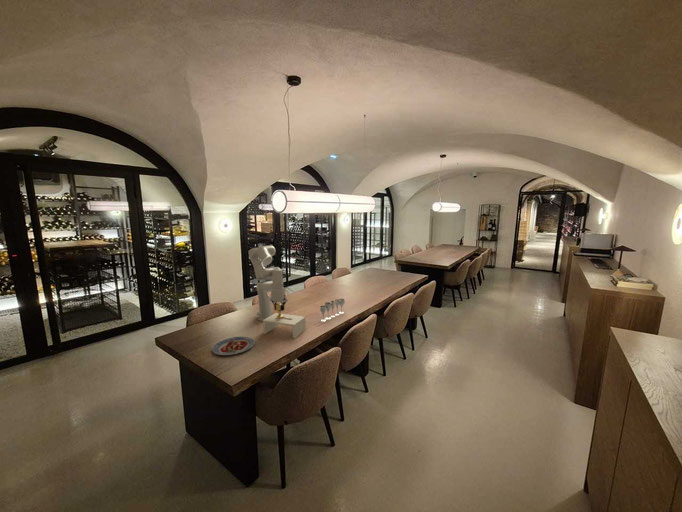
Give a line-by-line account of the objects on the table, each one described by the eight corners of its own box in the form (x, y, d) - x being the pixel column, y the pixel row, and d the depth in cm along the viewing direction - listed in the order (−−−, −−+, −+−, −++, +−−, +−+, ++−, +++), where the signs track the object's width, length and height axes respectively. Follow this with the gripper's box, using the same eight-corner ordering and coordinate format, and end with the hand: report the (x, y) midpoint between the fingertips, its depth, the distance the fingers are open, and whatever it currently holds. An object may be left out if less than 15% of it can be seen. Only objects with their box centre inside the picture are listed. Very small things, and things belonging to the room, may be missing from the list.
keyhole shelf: (263, 333, 207) (262, 320, 206) (276, 325, 222) (275, 313, 220) (294, 338, 198) (294, 324, 196) (305, 329, 212) (305, 316, 211)
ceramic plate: (225, 338, 200) (224, 334, 199) (260, 339, 197) (260, 335, 197) (204, 357, 175) (203, 352, 174) (244, 358, 172) (243, 354, 171)
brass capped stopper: (275, 318, 208) (274, 304, 206) (278, 316, 212) (278, 302, 211) (280, 319, 206) (280, 305, 205) (284, 317, 211) (283, 303, 209)
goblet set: (323, 322, 226) (323, 306, 224) (318, 320, 230) (318, 304, 228) (346, 312, 247) (346, 297, 245) (341, 311, 251) (340, 296, 249)
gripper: (264, 286, 206) (266, 310, 208) (285, 287, 199) (286, 312, 202) (271, 283, 213) (272, 307, 215) (290, 285, 206) (292, 309, 209)
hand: (279, 309), depth 208 cm, fingers closed on brass capped stopper, 5 cm apart
